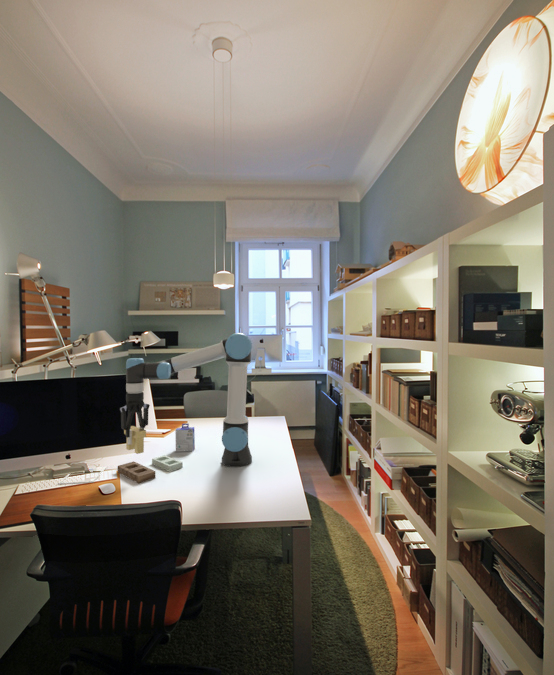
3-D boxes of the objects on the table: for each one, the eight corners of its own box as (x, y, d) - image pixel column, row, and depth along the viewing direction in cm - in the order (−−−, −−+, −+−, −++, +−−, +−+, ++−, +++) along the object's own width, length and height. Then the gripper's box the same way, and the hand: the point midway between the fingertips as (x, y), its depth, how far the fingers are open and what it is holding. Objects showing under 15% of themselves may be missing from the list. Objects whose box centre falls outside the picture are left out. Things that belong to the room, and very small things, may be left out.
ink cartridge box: (195, 448, 209) (194, 422, 209) (193, 451, 203) (193, 425, 203) (177, 449, 208) (176, 423, 208) (175, 452, 202) (175, 425, 202)
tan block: (146, 452, 167) (146, 430, 167) (136, 454, 164) (136, 432, 164) (133, 446, 175) (133, 425, 175) (124, 449, 172) (124, 427, 172)
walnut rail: (155, 477, 166) (155, 471, 166) (138, 483, 160) (138, 476, 160) (133, 467, 179) (133, 461, 179) (117, 472, 173) (117, 465, 173)
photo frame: (107, 466, 179) (93, 480, 162) (107, 468, 179) (93, 483, 162) (75, 468, 178) (57, 482, 160) (75, 470, 178) (57, 485, 160)
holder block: (182, 467, 179) (182, 462, 179) (169, 471, 173) (169, 466, 173) (164, 460, 189) (164, 455, 189) (152, 463, 184) (152, 458, 184)
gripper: (148, 389, 178) (148, 437, 178) (112, 393, 165) (112, 445, 165) (156, 390, 173) (156, 440, 173) (119, 395, 160) (120, 448, 160)
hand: (135, 442), depth 169 cm, fingers closed on tan block, 4 cm apart
